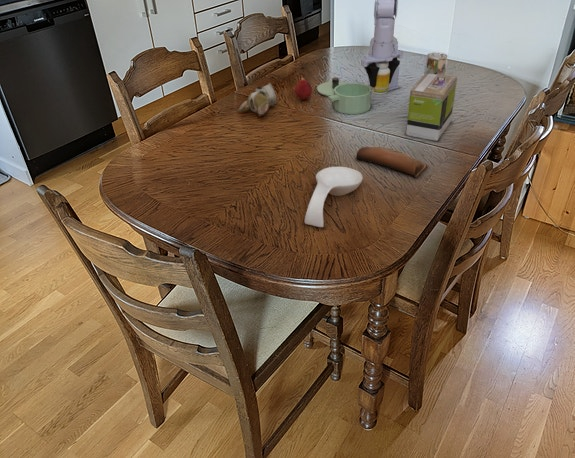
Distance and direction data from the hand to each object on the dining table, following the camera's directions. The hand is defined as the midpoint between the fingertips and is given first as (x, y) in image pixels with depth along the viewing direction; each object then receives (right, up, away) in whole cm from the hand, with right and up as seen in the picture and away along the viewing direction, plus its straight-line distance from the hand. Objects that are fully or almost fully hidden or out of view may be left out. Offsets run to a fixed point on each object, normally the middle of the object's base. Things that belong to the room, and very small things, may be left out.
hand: (380, 84), depth 158 cm
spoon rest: (-18, -39, -33) cm, 55 cm away
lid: (-12, +5, +23) cm, 27 cm away
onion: (-24, 0, +18) cm, 30 cm away
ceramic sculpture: (-39, -6, +12) cm, 41 cm away
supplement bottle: (0, -2, +2) cm, 3 cm away
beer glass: (+20, -1, +14) cm, 25 cm away
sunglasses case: (-1, -28, -20) cm, 34 cm away
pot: (-7, -4, +12) cm, 15 cm away
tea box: (+14, -15, -4) cm, 21 cm away
